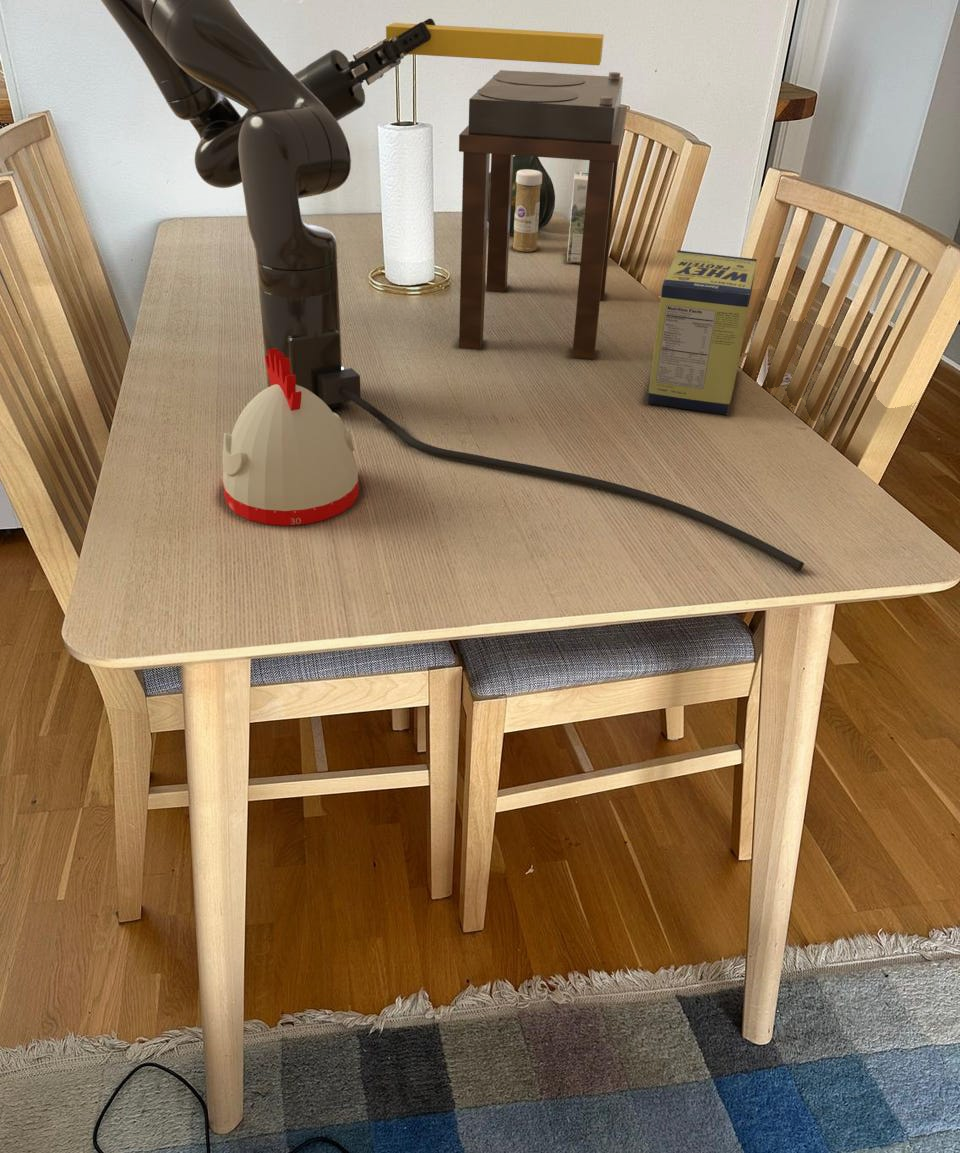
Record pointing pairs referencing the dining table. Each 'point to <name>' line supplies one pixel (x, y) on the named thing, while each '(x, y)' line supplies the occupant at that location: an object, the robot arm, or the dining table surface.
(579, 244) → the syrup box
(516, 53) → the yellow rectangular bar
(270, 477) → the kitchen timer
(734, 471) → the dining table surface
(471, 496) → the dining table surface
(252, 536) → the dining table surface
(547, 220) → the squash
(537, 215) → the sprinkles bottle
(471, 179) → the hob stand
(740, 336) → the protein box
